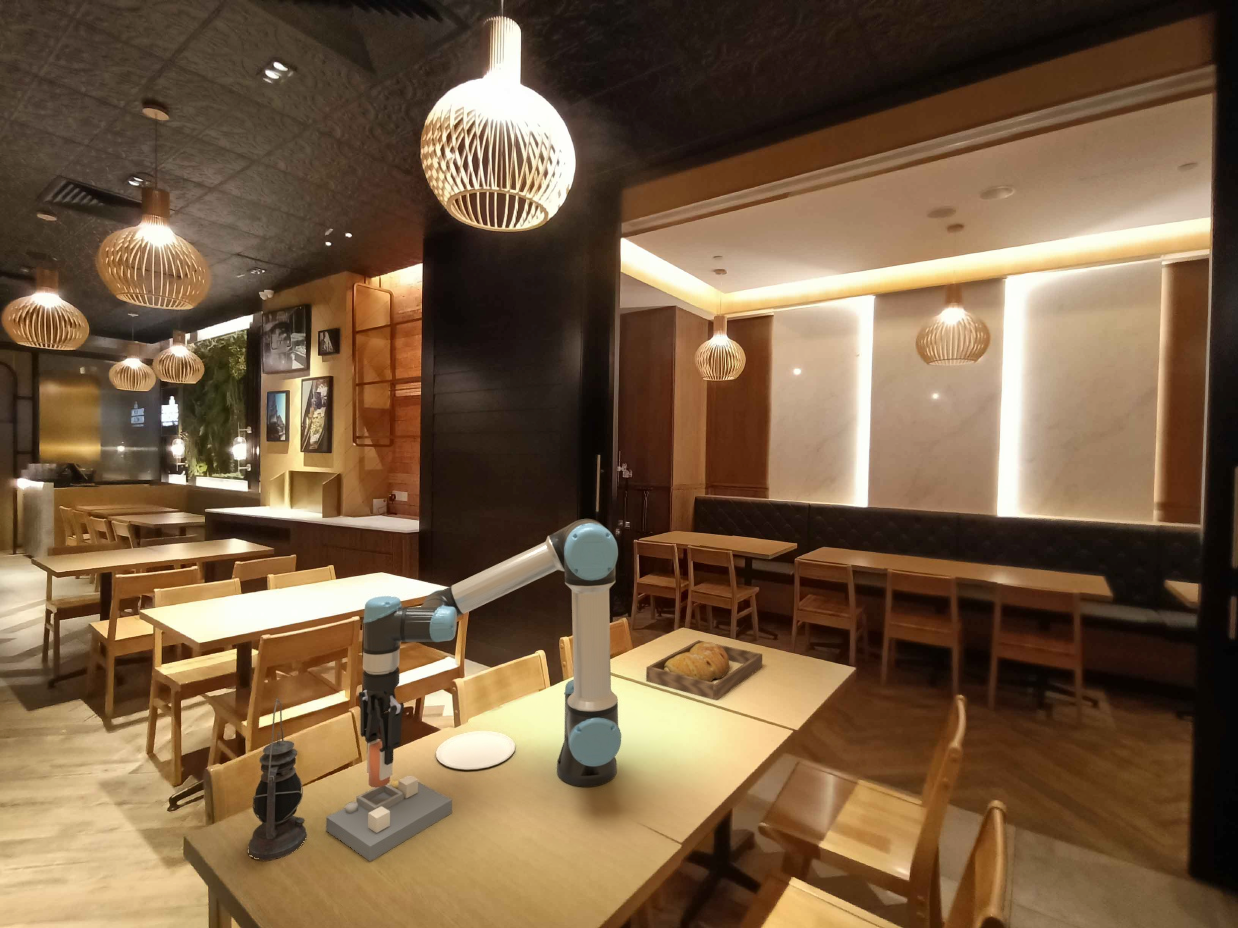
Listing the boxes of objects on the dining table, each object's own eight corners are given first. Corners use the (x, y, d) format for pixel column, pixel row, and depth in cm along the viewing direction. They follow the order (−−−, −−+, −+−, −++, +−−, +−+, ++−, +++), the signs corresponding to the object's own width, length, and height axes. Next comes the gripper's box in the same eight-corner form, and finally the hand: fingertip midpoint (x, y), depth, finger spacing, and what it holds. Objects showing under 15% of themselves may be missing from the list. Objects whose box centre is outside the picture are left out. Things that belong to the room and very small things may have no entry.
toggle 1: (389, 825, 125) (389, 811, 125) (376, 832, 122) (376, 818, 122) (381, 820, 126) (381, 805, 126) (368, 827, 124) (368, 812, 124)
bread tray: (762, 666, 231) (762, 653, 231) (716, 700, 199) (716, 685, 199) (698, 652, 247) (698, 640, 247) (646, 681, 214) (646, 667, 214)
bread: (704, 692, 206) (705, 663, 206) (655, 678, 218) (656, 651, 218) (744, 666, 232) (744, 640, 232) (698, 655, 244) (698, 630, 244)
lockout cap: (394, 780, 134) (394, 744, 134) (376, 789, 130) (376, 752, 130) (382, 774, 136) (382, 739, 136) (364, 782, 133) (365, 746, 133)
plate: (445, 780, 148) (445, 775, 148) (428, 744, 166) (428, 739, 166) (526, 761, 158) (526, 756, 158) (501, 728, 177) (501, 724, 177)
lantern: (299, 858, 119) (300, 707, 118) (238, 868, 116) (239, 713, 115) (312, 821, 131) (313, 683, 130) (257, 829, 128) (258, 688, 127)
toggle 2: (417, 792, 137) (417, 779, 137) (406, 798, 134) (406, 784, 134) (409, 787, 139) (409, 774, 139) (398, 793, 136) (398, 780, 136)
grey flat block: (452, 812, 135) (452, 792, 135) (370, 861, 118) (370, 838, 118) (407, 788, 144) (408, 770, 144) (326, 830, 127) (326, 809, 127)
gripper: (420, 672, 131) (418, 779, 131) (374, 655, 141) (372, 755, 141) (389, 682, 125) (387, 794, 125) (343, 664, 135) (342, 768, 135)
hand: (379, 773), depth 133 cm, fingers closed on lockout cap, 4 cm apart
